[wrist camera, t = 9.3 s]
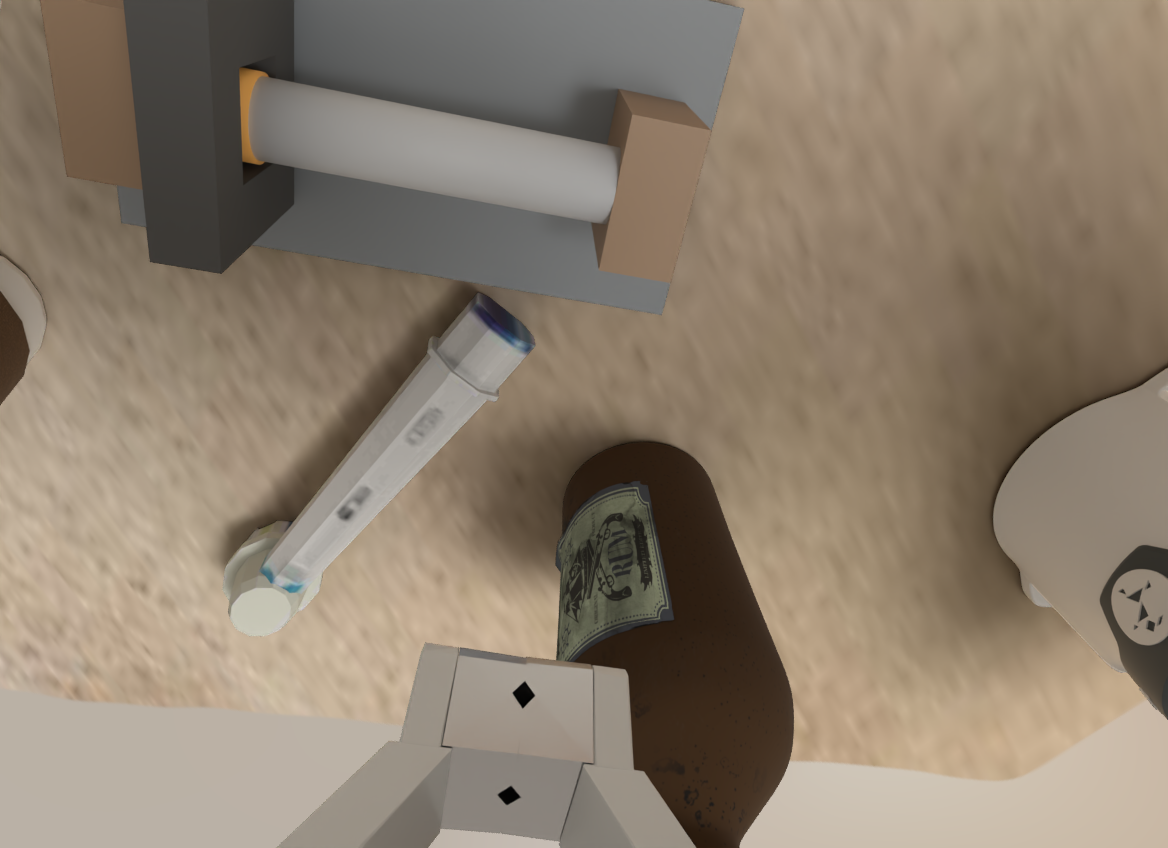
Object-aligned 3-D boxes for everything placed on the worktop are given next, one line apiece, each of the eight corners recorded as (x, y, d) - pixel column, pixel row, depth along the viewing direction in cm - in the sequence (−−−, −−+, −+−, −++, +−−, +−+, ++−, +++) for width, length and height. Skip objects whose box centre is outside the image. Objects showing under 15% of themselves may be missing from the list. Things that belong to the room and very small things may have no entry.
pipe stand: (736, 6, 33) (787, 19, 26) (658, 303, 40) (681, 376, 33) (98, -141, 29) (-42, -172, 22) (136, 213, 36) (39, 273, 29)
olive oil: (758, 499, 47) (931, 946, 26) (635, 592, 51) (697, 1049, 29) (641, 398, 43) (733, 829, 22) (516, 507, 47) (489, 967, 25)
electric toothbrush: (549, 364, 37) (266, 680, 43) (538, 322, 43) (290, 605, 49) (465, 299, 35) (181, 639, 41) (466, 264, 41) (217, 566, 47)
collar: (294, -20, 30) (206, -14, 22) (294, 204, 34) (221, 273, 27) (231, -34, 30) (120, -33, 22) (239, 194, 34) (149, 261, 26)
